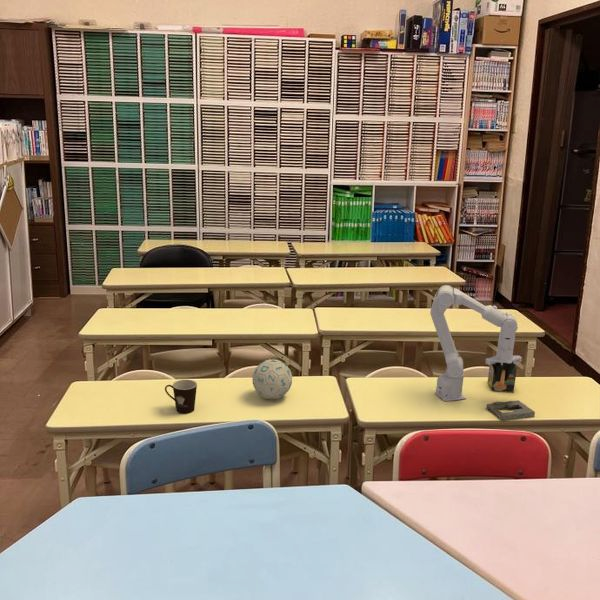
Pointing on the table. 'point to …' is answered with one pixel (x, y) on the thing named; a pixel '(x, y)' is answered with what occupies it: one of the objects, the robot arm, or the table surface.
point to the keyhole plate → (517, 414)
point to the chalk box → (509, 383)
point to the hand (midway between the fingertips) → (500, 380)
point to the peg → (501, 382)
